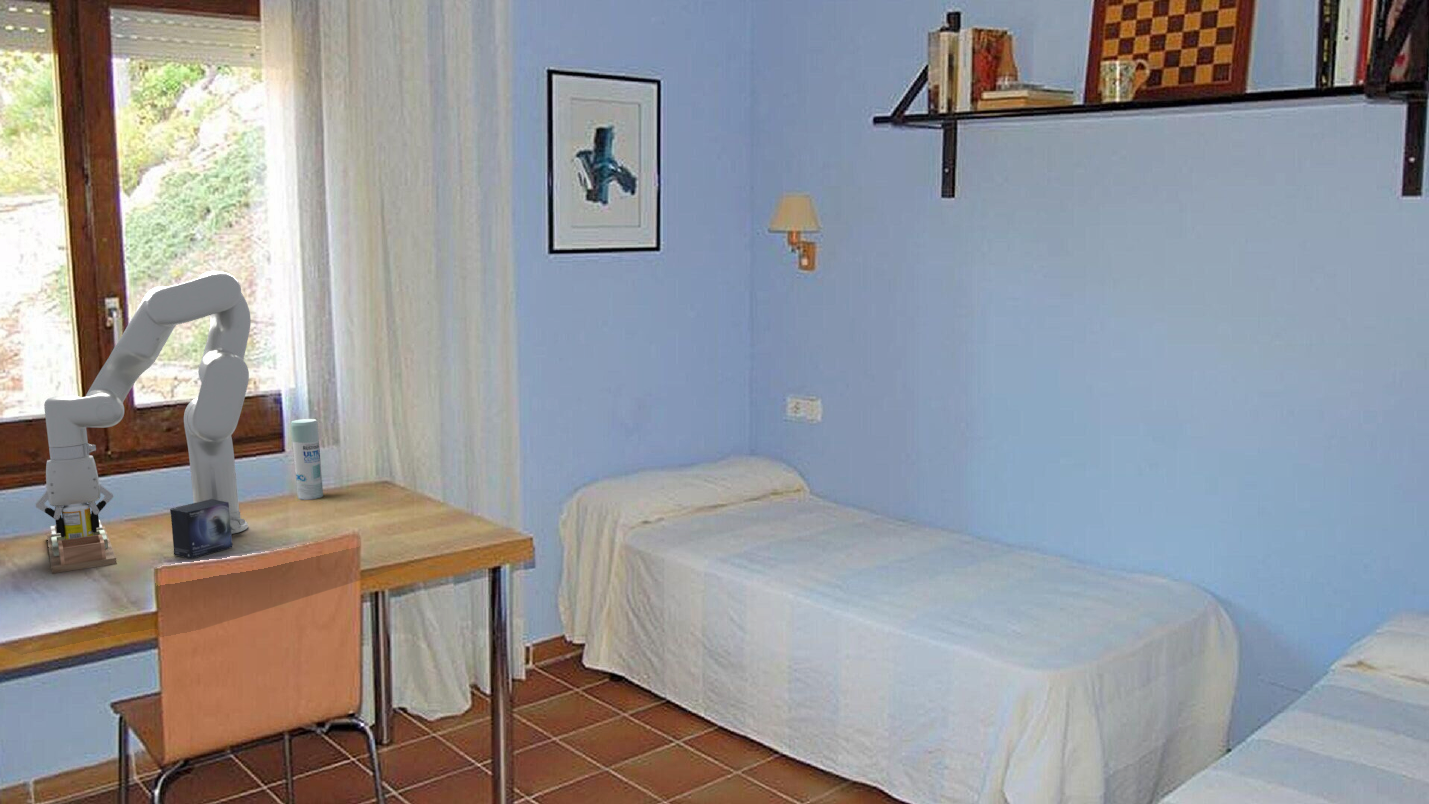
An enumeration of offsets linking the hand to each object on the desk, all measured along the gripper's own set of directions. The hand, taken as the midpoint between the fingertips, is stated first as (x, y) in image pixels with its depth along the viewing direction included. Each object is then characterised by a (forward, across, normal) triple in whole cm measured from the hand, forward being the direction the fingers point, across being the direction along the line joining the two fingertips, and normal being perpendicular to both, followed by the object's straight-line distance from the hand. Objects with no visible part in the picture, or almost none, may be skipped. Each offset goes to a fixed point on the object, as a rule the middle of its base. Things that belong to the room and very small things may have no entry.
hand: (78, 533), depth 266 cm
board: (+4, 0, -2) cm, 5 cm away
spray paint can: (+5, -54, -25) cm, 60 cm away
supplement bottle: (+2, 0, 0) cm, 2 cm away
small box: (+5, -23, +17) cm, 29 cm away
